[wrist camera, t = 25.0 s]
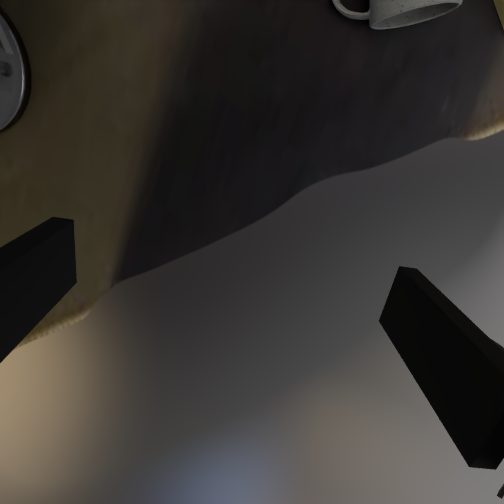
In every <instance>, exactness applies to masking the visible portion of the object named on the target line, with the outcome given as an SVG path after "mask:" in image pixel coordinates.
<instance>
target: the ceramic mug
mask: <svg viewBox="0 0 504 504" xmlns="http://www.w3.org/2000/svg"><path fill="white" fill-rule="evenodd" d="M462 1H463V0H370V9H369V11H368V12H365V13H359V12H353V11H349V10H347V9H346V8H345V7H343V6H342V4H341V3H340V1H339V0H332V2H333V4H334V5H335V7H336V8H337V10H338V11H339V12H340V13H341V14H343V15H344V16H346V17H348V18H351V19H358V20H366V19H368V20H369V25H370V27H371V28H373V29H389V28H398V27H403V26H408V25H412V24H416V23H420V22H424V21H427V20H430V19H434V18H436V17H439V16H442V15H444V14H446V13H449V12H450V11H453V10H454V9H456V8H457V7H459V6H460V5H461V4H462Z"/></svg>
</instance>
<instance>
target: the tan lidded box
mask: <svg viewBox="0 0 504 504" xmlns="http://www.w3.org/2000/svg"><path fill="white" fill-rule="evenodd" d="M493 1H494V4H495V7H496V10H497V13H498V15H499V18H500V21H501V24H502V27H503V30H504V0H493Z"/></svg>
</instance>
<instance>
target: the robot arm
mask: <svg viewBox="0 0 504 504" xmlns="http://www.w3.org/2000/svg"><path fill="white" fill-rule="evenodd" d="M30 89H31V72H30V65H29V60H28V56H27V53H26V50H25V47H24V44H23V42H22V40H21V38H20V35H19V33H18V31H17V30H16V28H15V26H14V25H13V23H12V22H11V20H10V19H9V17H8V16H7V14H6V13H5V12H4V11H3V9H2V8H1V7H0V133H1V132H3V131H5V130H7V129H8V128H10V127H11V126H12V125H13V124H15V122H16V121H17V120H18V119H19V118H20V116H21V115H22V114H23V112H24V110H25V108H26V105H27V103H28V99H29V95H30ZM76 283H77V279H76V259H75V240H74V220H71V219H64V218H57V217H52V218H50V219H48V220H47V221H45V222H43V223H41V224H40V225H38V226H36V227H35V228H33V229H31V230H30V231H28V232H26V233H24V234H23V235H21V236H19V237H18V238H16V239H14V240H12V241H11V242H9V243H7V244H6V245H4V246H2V247H0V363H1V362H2V361H3V360H4V359H5V358H6V357H7V356H8V355H9V353H10V352H11V351H12V350H13V349H14V348H15V347H16V346H17V345H18V344H19V343H20V342H21V341H22V340H23V339H24V338H25V337H26V335H27V334H28V333H29V332H30V331H31V330H32V329H33V328H34V327H35V326H36V325H37V324H38V323H39V322H40V321H41V320H42V319H43V317H44V316H45V315H46V314H47V313H48V312H49V311H50V310H51V309H52V308H53V307H54V306H55V305H56V304H57V303H58V302H59V301H60V300H61V298H62V297H63V296H64V295H65V294H66V293H67V292H68V291H69V290H70V289H71V288H72V287H73V286H74V285H75V284H76ZM379 322H380V324H381V325H382V327H383V329H384V330H385V332H386V333H387V335H388V336H389V338H390V340H391V341H392V343H393V345H394V346H395V348H396V350H397V351H398V353H399V354H400V356H401V358H402V359H403V361H404V362H405V364H406V366H407V367H408V369H409V371H410V372H411V374H412V375H413V377H414V379H415V380H416V382H417V383H418V385H419V387H420V388H421V390H422V391H423V393H424V394H425V396H426V398H427V399H428V401H429V403H430V405H431V406H432V408H433V409H434V411H435V413H436V414H437V416H438V417H439V419H440V421H441V422H442V424H443V426H444V427H445V429H446V430H447V432H448V433H449V435H450V437H451V438H452V440H453V442H454V443H455V445H456V447H457V448H458V450H459V451H460V453H461V455H462V456H463V458H464V459H465V461H466V463H467V464H468V466H469V467H474V468H485V469H497V467H498V466H499V464H500V463H501V461H502V460H503V458H504V348H503V347H502V346H501V345H499V344H498V343H496V342H495V341H493V340H492V339H490V338H489V337H488V336H487V335H486V334H484V332H483V331H481V330H480V329H479V328H478V327H477V326H476V325H475V324H474V323H473V322H472V321H471V320H470V319H469V318H468V317H467V316H466V315H465V314H464V313H463V312H462V311H461V310H459V309H458V308H457V307H456V306H455V305H454V304H453V303H452V302H451V301H450V300H449V299H448V298H447V297H446V296H445V295H444V294H443V293H441V291H440V290H439V289H437V288H436V287H435V286H434V285H433V284H432V283H431V282H430V281H429V280H428V279H427V278H426V277H425V276H424V275H423V274H422V273H421V272H420V271H419V270H418V269H415V268H409V267H402V266H399V268H398V271H397V274H396V277H395V279H394V282H393V284H392V287H391V290H390V293H389V296H388V298H387V301H386V303H385V306H384V309H383V311H382V314H381V317H380V319H379ZM497 496H498V497H500V498H501V499H502V497H503V496H504V484H503V486H502V487H501V489H500V490H499V492H498V494H497Z"/></svg>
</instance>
